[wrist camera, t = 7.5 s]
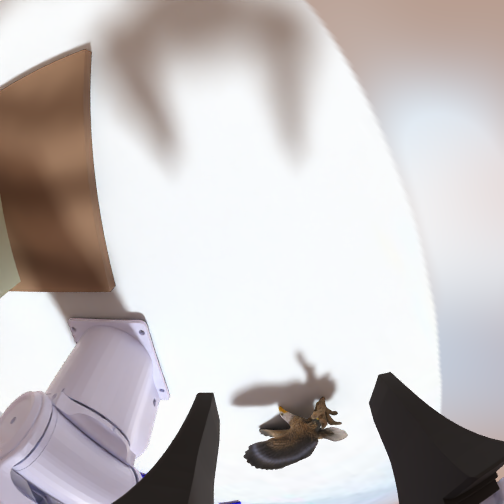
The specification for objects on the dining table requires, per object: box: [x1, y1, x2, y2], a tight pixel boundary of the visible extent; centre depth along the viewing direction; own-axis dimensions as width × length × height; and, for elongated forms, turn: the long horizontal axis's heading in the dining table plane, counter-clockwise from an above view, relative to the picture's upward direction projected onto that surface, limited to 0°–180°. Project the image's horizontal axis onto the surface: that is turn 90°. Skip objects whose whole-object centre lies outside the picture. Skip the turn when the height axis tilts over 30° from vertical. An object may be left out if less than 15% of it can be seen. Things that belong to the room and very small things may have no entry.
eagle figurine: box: [244, 397, 348, 470], centre depth 23 cm, size 8×7×9 cm
